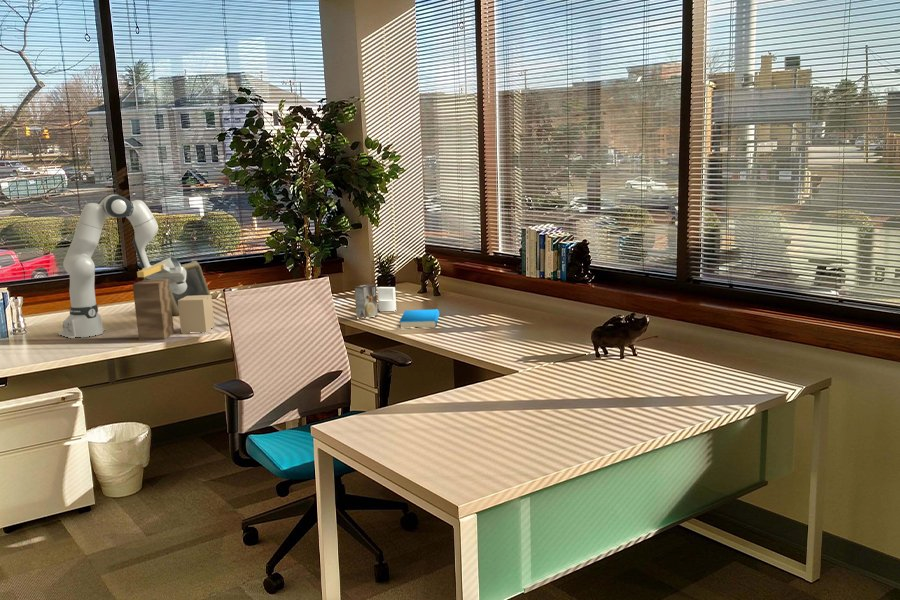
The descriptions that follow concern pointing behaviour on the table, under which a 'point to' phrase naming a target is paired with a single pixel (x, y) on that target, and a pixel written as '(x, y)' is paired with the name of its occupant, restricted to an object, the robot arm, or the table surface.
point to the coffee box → (366, 300)
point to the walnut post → (153, 309)
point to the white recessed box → (386, 298)
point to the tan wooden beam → (150, 270)
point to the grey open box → (190, 285)
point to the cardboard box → (196, 313)
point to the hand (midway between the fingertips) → (157, 266)
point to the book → (419, 318)
